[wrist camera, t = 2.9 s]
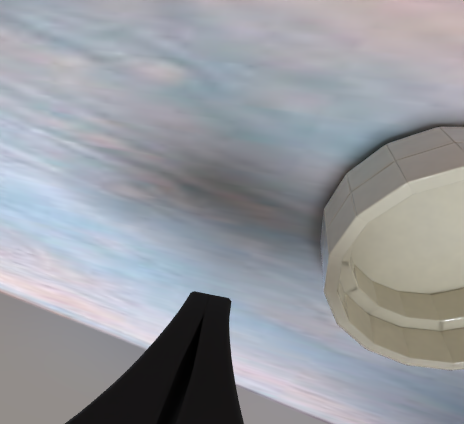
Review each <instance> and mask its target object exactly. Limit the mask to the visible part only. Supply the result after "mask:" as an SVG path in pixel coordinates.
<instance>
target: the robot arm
mask: <svg viewBox="0 0 464 424" xmlns="http://www.w3.org/2000/svg"><path fill="white" fill-rule="evenodd" d="M230 308H231V300H230V299H229V298H225V297H220V296H215V295H210V294H205V293H200V292H195V291H194V292H192V293H190V295H189V297H188V298H187V300H186V301H185V303H184V304H183V306H182V307H181V309H180V310H179V311H178V313H177V314H176V315H175V317H174V318H173V319H172V321H171V322H170V323H169V325H168V326H167V327H166V328H165V329H164V331H163V332H162V333H161V334H160V336H159V337H158V338H157V339H156V340H155V341H154V343H153V344H152V345H151V346H150V347H149V348H148V349H147V350H146V351H145V352H144V354H143V355H142V356H141V357H140V358H139V359H138V360H137V361H136V362H135V363H134V364H133V365H132V366H131V367H130V368H129V369H128V370H127V371H126V372H125V373H124V374H123V375H122V376H121V377H120V378H119V379H118V380H117V381H116V382H115V383H113V384H112V385H111V386H110V387H109V388H108V389H107V390H106V391H104V392H103V393H102V394H101V395H100V396H99V397H98V398H97V399H95V400H94V401H93V402H92V403H91V404H90V405H88V406H87V407H86V408H85V409H83V410H82V411H81V412H80V413H78V414H77V415H76V416H74V417H73V418H72V419H70V420H69V421H68V422H66V423H65V424H244V423H243V418H242V415H241V410H240V405H239V401H238V396H237V391H236V385H235V379H234V373H233V366H232V358H231V348H230V336H229V315H230Z"/></svg>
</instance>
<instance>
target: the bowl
mask: <svg viewBox="0 0 464 424" xmlns="http://www.w3.org/2000/svg"><path fill="white" fill-rule="evenodd" d="M320 246H321V260H322V273H323V287H324V294H325V296H326V299H327V301H328V304H329V306H330V308H331V311H332V313H333V315H334V318H335V320H336V322H337V324H338V325H339V326H340V327H341V328H342V329H343V330H344V331H345V332H347V333H348V334H349V335H350V336H351V337H352V338H354V339H355V340H356V341H357V342H358V343H359V344H360V345H362V346H363V347H364V348H365V349H367V350H369V351H372V352H374V353H377V354H379V355H382V356H384V357H387V358H389V359H392V360H394V361H397V362H399V363H402V364H406V365H409V366H418V367H426V368H435V369H443V370H461V369H464V127H436V128H433V129H430V130H427V131H424V132H421V133H418V134H415V135H412V136H409V137H406V138H402V139H399V140H396V141H393V142H390V143H387V144H386V145H384V146H383V147H381V148H380V149H379V150H377V151H376V152H375V153H373V154H372V155H371V156H369V157H368V158H366V159H365V160H364V161H362V162H361V163H360V164H358V165H357V166H356V167H354V168H353V169H352V170H350V171H349V172H348V173H347V174H346V175H345V176H344V178H343V180H342V181H341V183H340V184H339V186H338V187H337V189H336V191H335V192H334V194H333V195H332V197H331V199H330V200H329V202H328V203H327V205H326V207H325V209H324V213H323V222H322V231H321V239H320Z"/></svg>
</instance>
